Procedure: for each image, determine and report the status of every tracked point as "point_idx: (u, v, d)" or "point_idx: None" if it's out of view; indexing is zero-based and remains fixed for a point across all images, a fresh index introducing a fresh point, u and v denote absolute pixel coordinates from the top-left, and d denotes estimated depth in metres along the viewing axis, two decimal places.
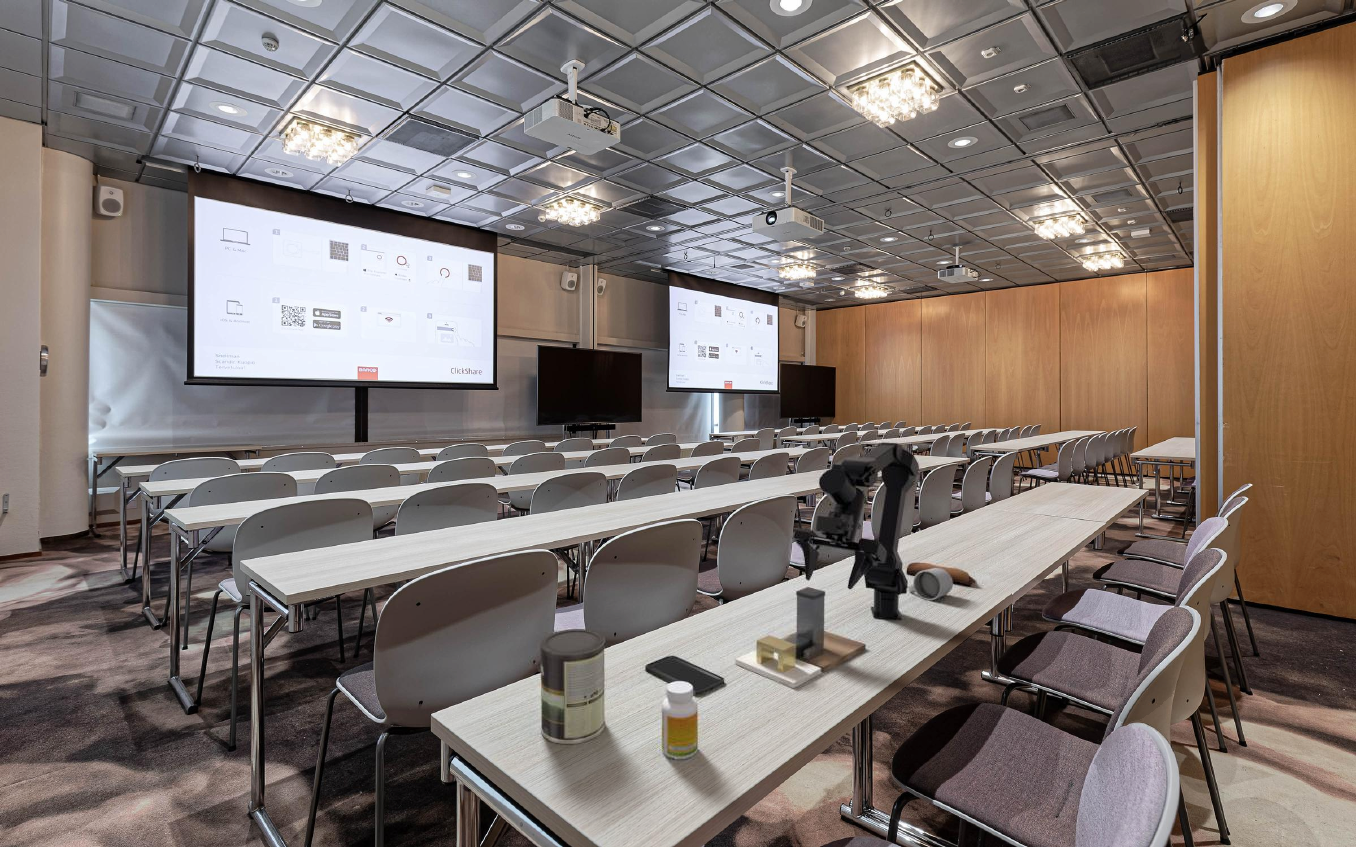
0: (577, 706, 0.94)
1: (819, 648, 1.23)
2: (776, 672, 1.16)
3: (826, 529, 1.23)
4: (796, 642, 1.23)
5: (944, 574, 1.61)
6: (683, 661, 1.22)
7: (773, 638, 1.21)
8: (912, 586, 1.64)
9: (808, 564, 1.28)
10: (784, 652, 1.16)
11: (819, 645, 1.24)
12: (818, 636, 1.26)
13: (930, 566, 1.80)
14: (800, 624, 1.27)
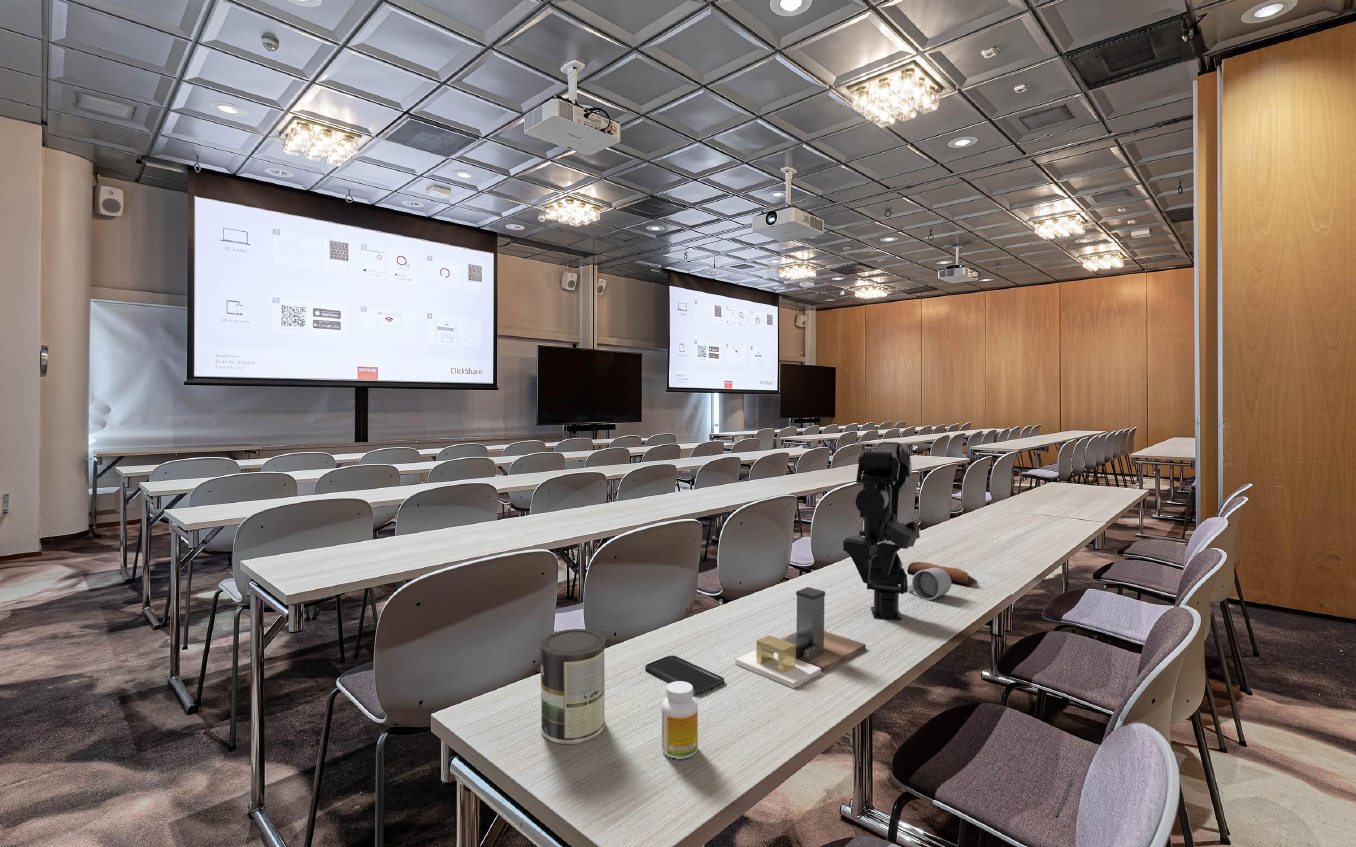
0: (577, 706, 0.94)
1: (819, 648, 1.23)
2: (776, 672, 1.16)
3: (911, 545, 1.29)
4: (796, 642, 1.23)
5: (942, 574, 1.61)
6: (683, 661, 1.22)
7: (773, 638, 1.21)
8: (911, 586, 1.65)
9: (870, 570, 1.31)
10: (784, 652, 1.16)
11: (819, 645, 1.24)
12: (818, 636, 1.26)
13: (931, 566, 1.80)
14: (800, 624, 1.27)
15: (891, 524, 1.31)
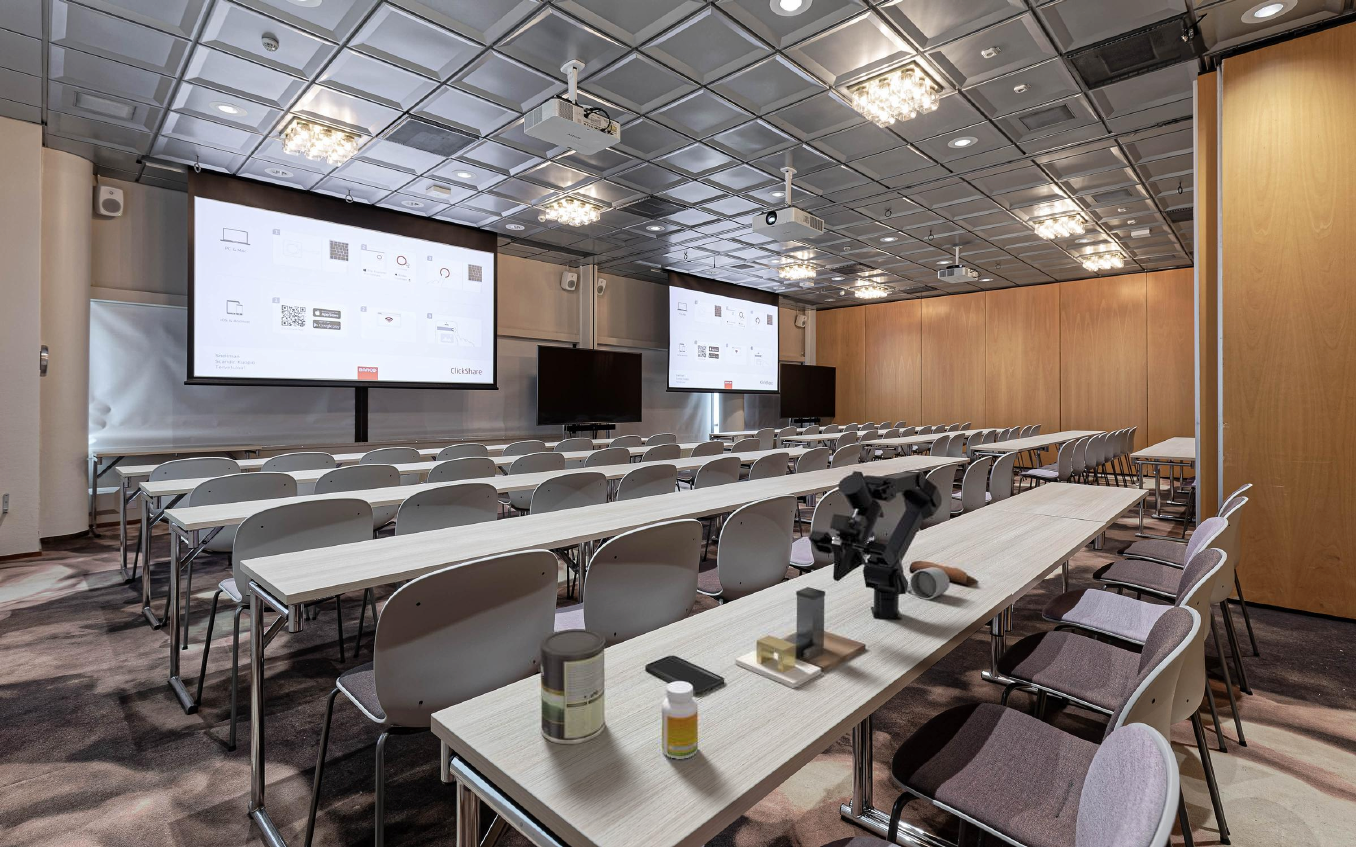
0: (577, 706, 0.94)
1: (819, 648, 1.23)
2: (776, 672, 1.16)
3: (839, 526, 1.33)
4: (796, 642, 1.23)
5: (941, 573, 1.62)
6: (683, 661, 1.22)
7: (773, 638, 1.21)
8: (909, 585, 1.65)
9: (837, 565, 1.34)
10: (784, 652, 1.16)
11: (819, 645, 1.24)
12: (818, 636, 1.26)
13: (932, 565, 1.81)
14: (800, 624, 1.27)
15: None
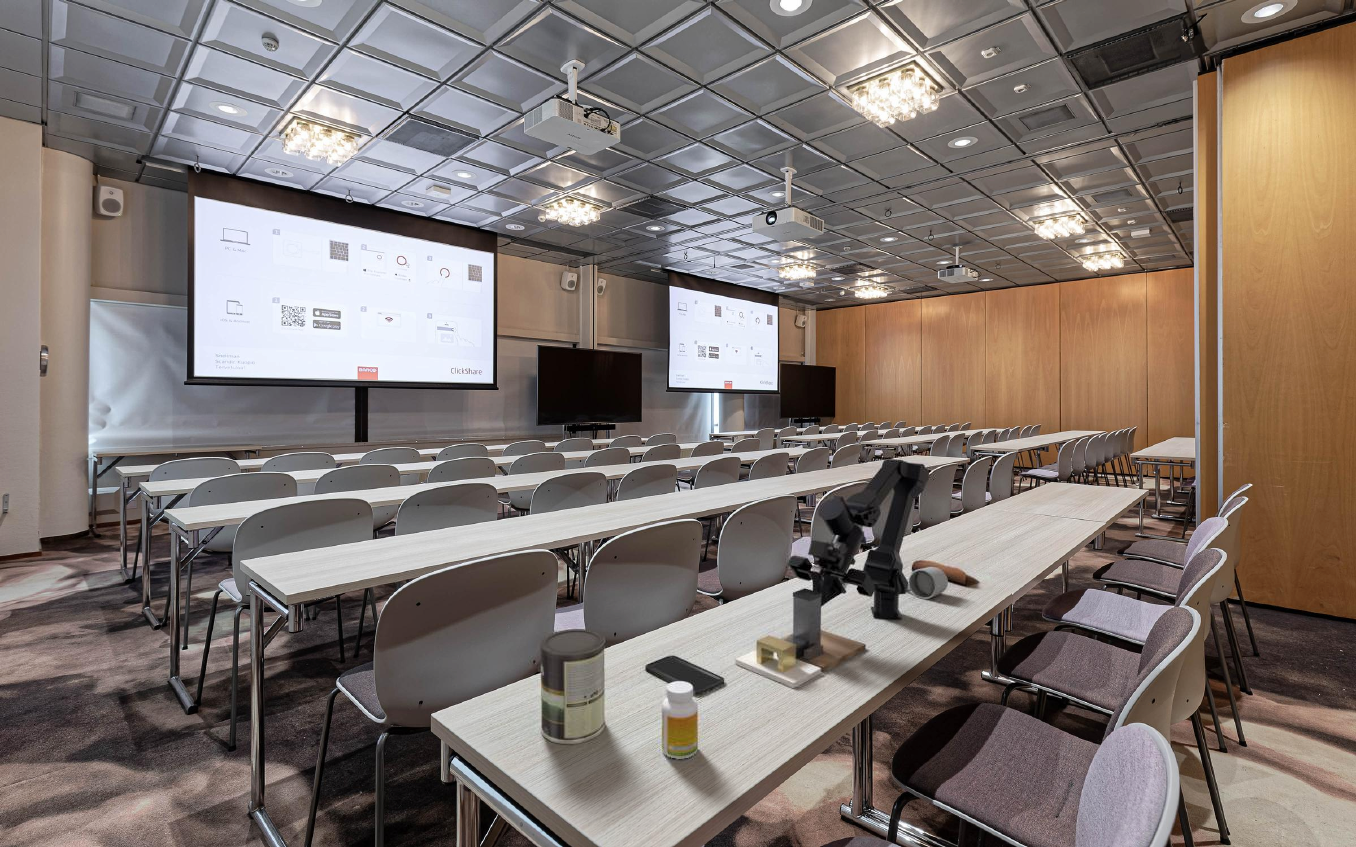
0: (577, 706, 0.94)
1: (819, 648, 1.23)
2: (776, 672, 1.16)
3: (818, 553, 1.28)
4: None
5: (939, 573, 1.62)
6: (683, 661, 1.22)
7: (773, 638, 1.21)
8: None
9: None
10: (784, 652, 1.16)
11: (819, 645, 1.24)
12: (815, 637, 1.25)
13: (933, 564, 1.81)
14: (797, 626, 1.26)
15: None
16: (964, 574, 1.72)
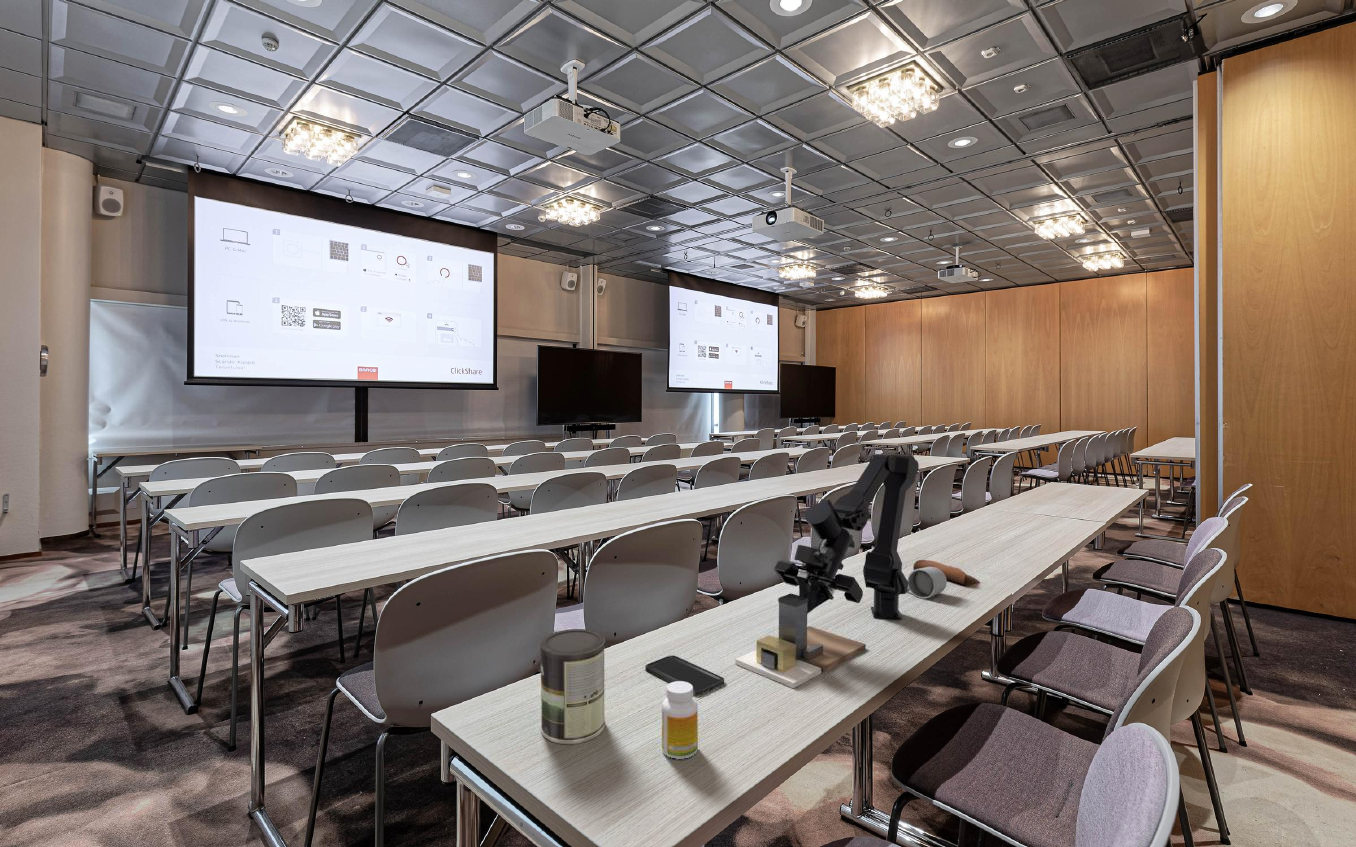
0: (577, 706, 0.94)
1: (819, 648, 1.23)
2: (776, 672, 1.16)
3: (804, 558, 1.24)
4: None
5: (938, 573, 1.62)
6: (683, 661, 1.22)
7: (773, 638, 1.21)
8: None
9: None
10: (784, 652, 1.16)
11: (819, 645, 1.24)
12: (800, 644, 1.22)
13: (934, 564, 1.82)
14: (782, 632, 1.22)
15: None
16: (963, 574, 1.72)
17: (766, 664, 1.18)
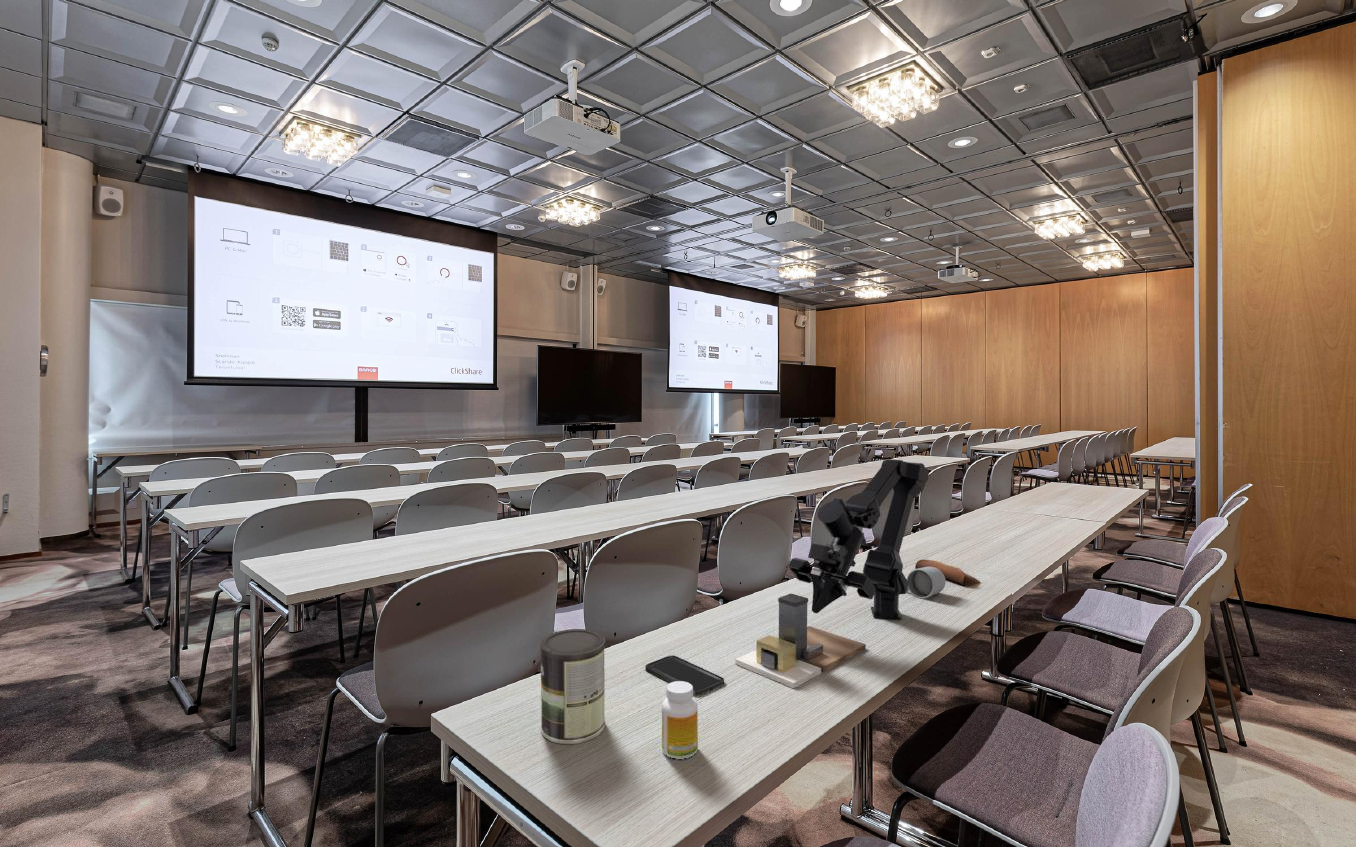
0: (577, 706, 0.94)
1: (819, 648, 1.23)
2: (776, 672, 1.16)
3: (818, 556, 1.28)
4: None
5: (937, 573, 1.62)
6: (683, 661, 1.22)
7: (773, 638, 1.21)
8: None
9: (816, 596, 1.29)
10: (784, 652, 1.16)
11: (819, 645, 1.24)
12: (800, 644, 1.22)
13: (935, 564, 1.82)
14: (782, 632, 1.22)
15: None
16: (963, 574, 1.72)
17: (766, 664, 1.18)
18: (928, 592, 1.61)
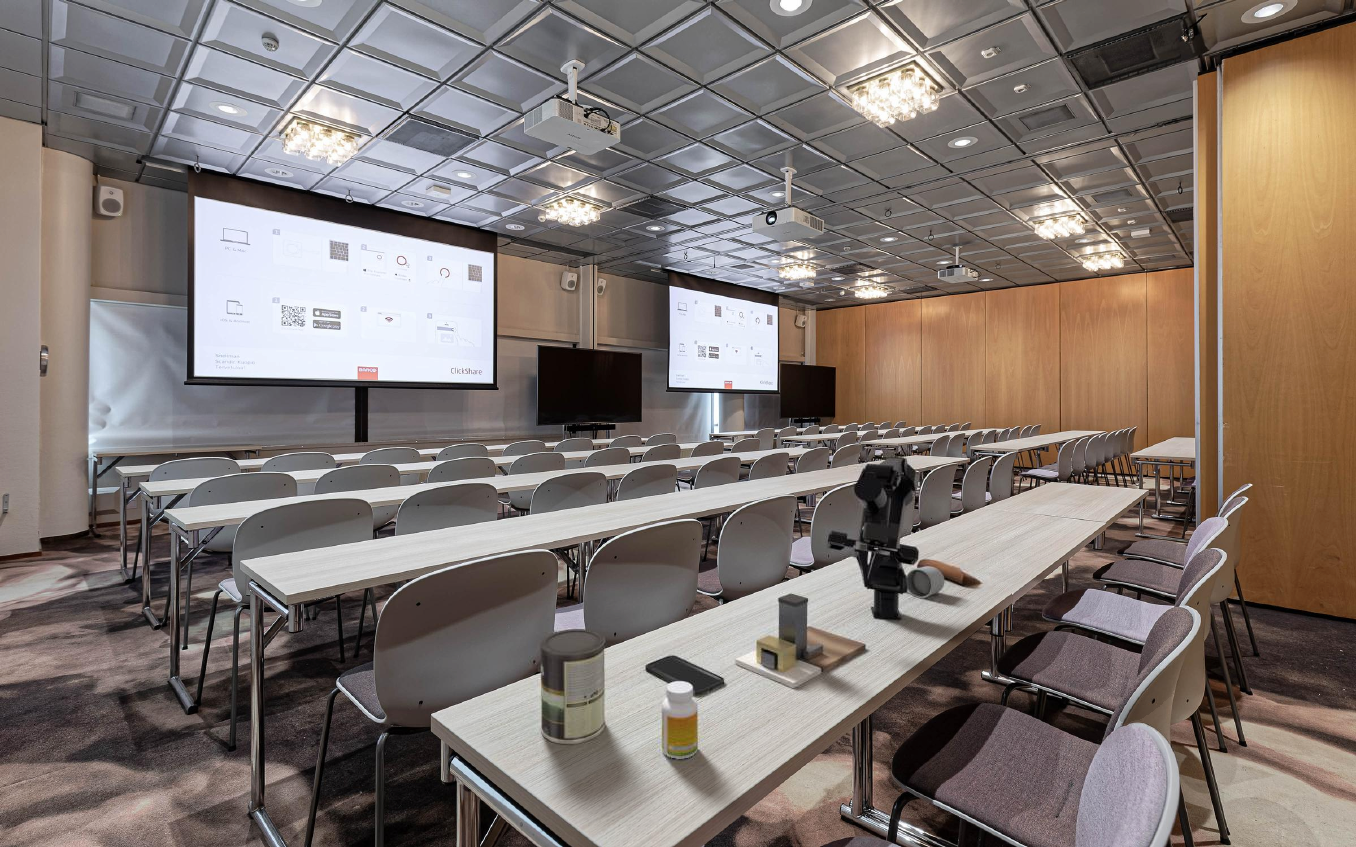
0: (577, 706, 0.94)
1: (819, 648, 1.23)
2: (776, 672, 1.16)
3: (877, 538, 1.27)
4: None
5: (935, 572, 1.63)
6: (683, 661, 1.22)
7: (773, 638, 1.21)
8: None
9: (866, 572, 1.31)
10: (784, 652, 1.16)
11: (819, 645, 1.24)
12: (800, 644, 1.22)
13: (936, 564, 1.82)
14: (782, 632, 1.22)
15: (870, 523, 1.32)
16: (962, 574, 1.72)
17: (766, 664, 1.18)
18: (927, 592, 1.62)
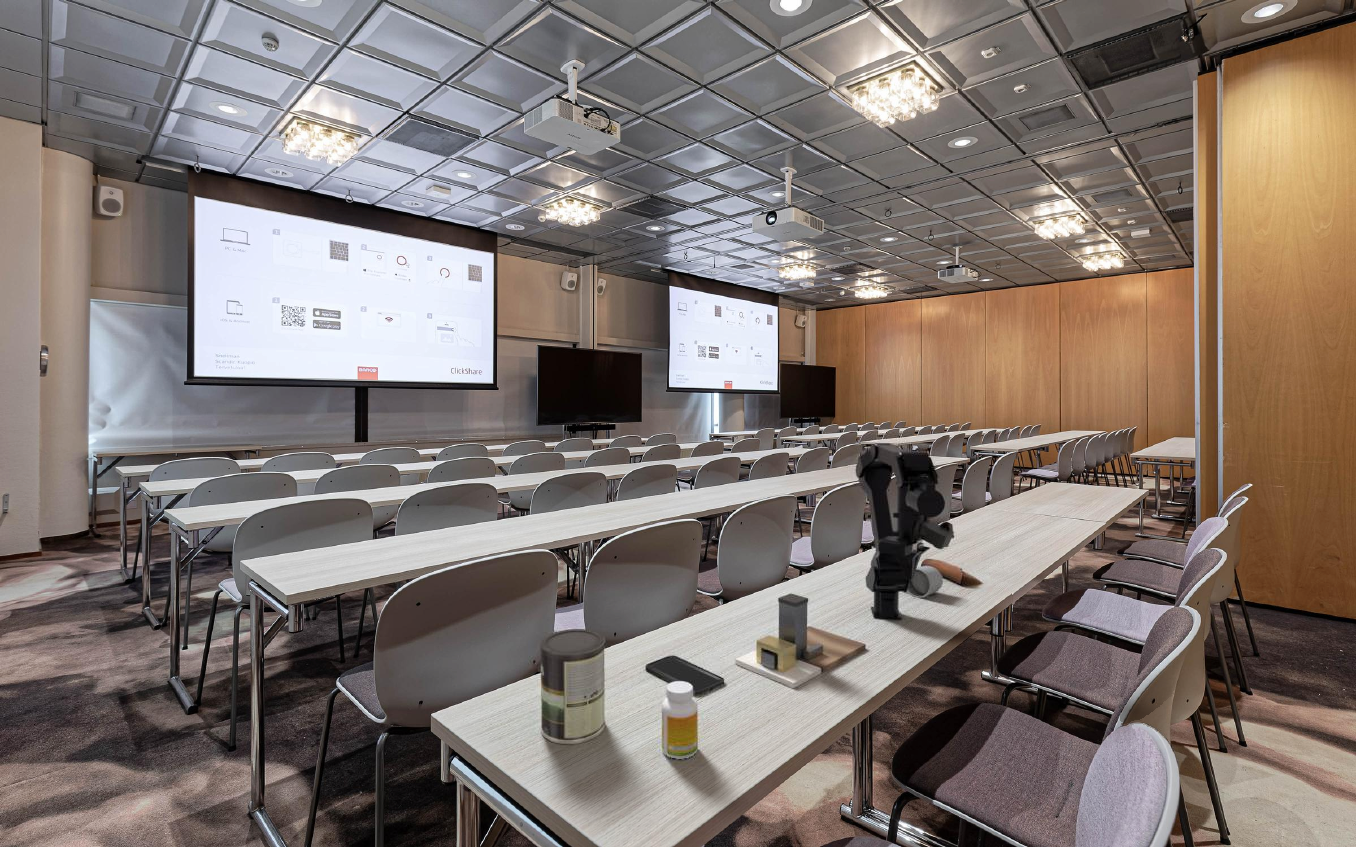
0: (577, 706, 0.94)
1: (819, 648, 1.23)
2: (776, 672, 1.16)
3: (946, 545, 1.29)
4: None
5: (934, 572, 1.63)
6: (683, 661, 1.22)
7: (773, 638, 1.21)
8: None
9: (913, 567, 1.33)
10: (784, 652, 1.16)
11: (819, 645, 1.24)
12: (800, 644, 1.22)
13: (939, 563, 1.83)
14: (782, 632, 1.22)
15: (926, 524, 1.30)
16: (961, 574, 1.72)
17: (766, 664, 1.18)
18: (925, 591, 1.62)
